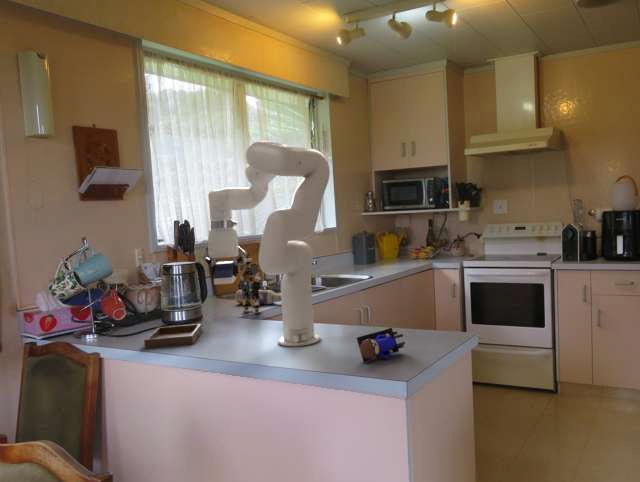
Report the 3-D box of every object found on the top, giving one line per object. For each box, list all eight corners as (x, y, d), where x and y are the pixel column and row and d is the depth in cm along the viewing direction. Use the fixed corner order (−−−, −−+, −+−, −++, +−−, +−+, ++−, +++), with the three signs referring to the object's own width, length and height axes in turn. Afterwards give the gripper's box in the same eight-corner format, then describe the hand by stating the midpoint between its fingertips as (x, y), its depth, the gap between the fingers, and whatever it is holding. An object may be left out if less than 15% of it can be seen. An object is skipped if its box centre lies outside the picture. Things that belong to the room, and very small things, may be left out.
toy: (271, 313, 221) (267, 252, 219) (253, 317, 215) (249, 254, 213) (251, 310, 231) (246, 252, 229) (233, 313, 224) (229, 254, 223)
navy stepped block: (236, 278, 195) (234, 260, 194) (232, 283, 181) (231, 264, 180) (219, 279, 194) (217, 261, 193) (214, 284, 180) (212, 265, 179)
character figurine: (410, 355, 147) (369, 368, 137) (391, 349, 152) (350, 361, 142) (410, 327, 146) (368, 339, 136) (391, 322, 151) (350, 333, 141)
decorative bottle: (234, 305, 246) (233, 290, 246) (244, 302, 253) (243, 288, 253) (282, 306, 236) (282, 291, 236) (291, 303, 243) (290, 288, 243)
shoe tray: (192, 344, 173) (192, 335, 173) (144, 348, 170) (144, 340, 170) (201, 331, 192) (201, 323, 192) (158, 335, 190) (158, 327, 190)
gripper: (247, 224, 192) (251, 274, 194) (197, 226, 190) (201, 277, 191) (246, 224, 185) (250, 276, 186) (194, 227, 182) (198, 280, 184)
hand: (225, 276), depth 189 cm, fingers closed on navy stepped block, 6 cm apart
